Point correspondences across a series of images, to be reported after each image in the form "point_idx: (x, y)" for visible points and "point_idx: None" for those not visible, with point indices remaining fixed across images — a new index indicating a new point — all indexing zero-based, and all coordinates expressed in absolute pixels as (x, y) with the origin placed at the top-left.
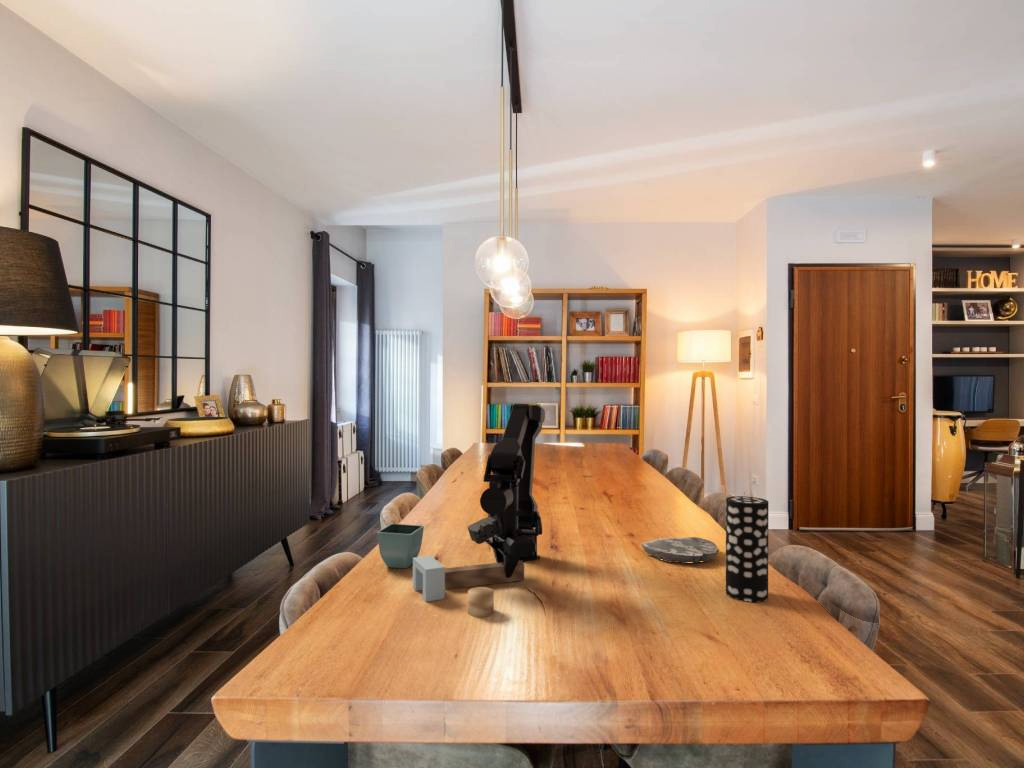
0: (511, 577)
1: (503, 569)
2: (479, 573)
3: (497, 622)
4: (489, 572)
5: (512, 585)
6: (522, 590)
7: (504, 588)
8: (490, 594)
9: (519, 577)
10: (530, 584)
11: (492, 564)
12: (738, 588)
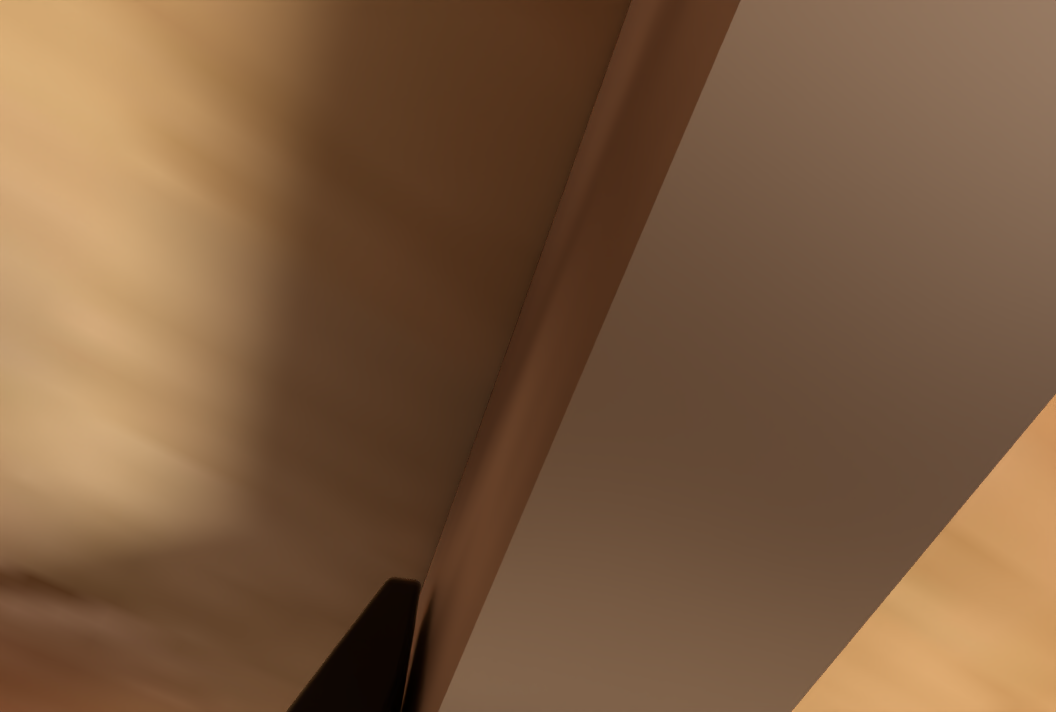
0: None
1: (425, 681)
2: (647, 103)
3: None
4: (531, 393)
5: (303, 524)
6: (44, 520)
7: (232, 375)
8: None
9: None
10: (233, 682)
11: (722, 660)
12: None
